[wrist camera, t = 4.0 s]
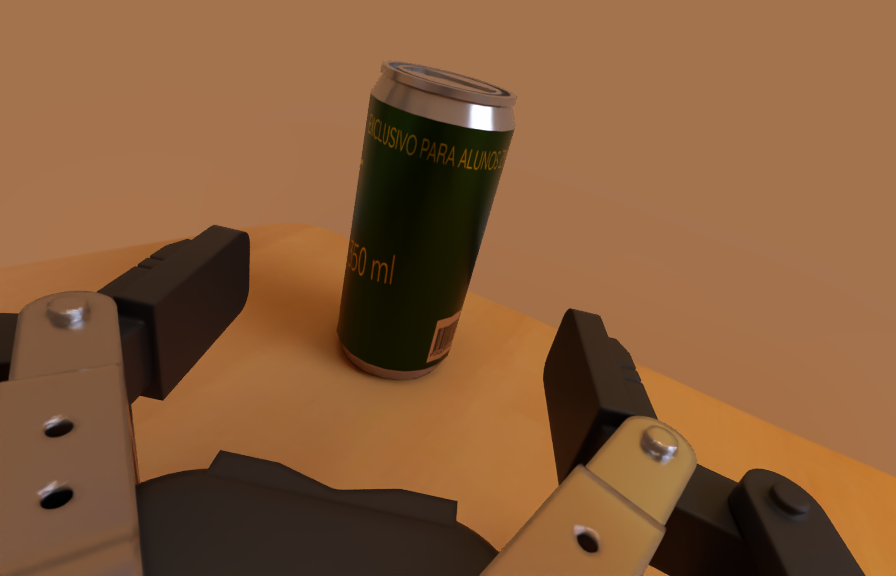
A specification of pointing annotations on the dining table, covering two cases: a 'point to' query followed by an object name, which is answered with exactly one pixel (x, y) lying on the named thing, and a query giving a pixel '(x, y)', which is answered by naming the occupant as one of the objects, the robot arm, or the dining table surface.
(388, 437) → the dining table surface
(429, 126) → the green drink can
